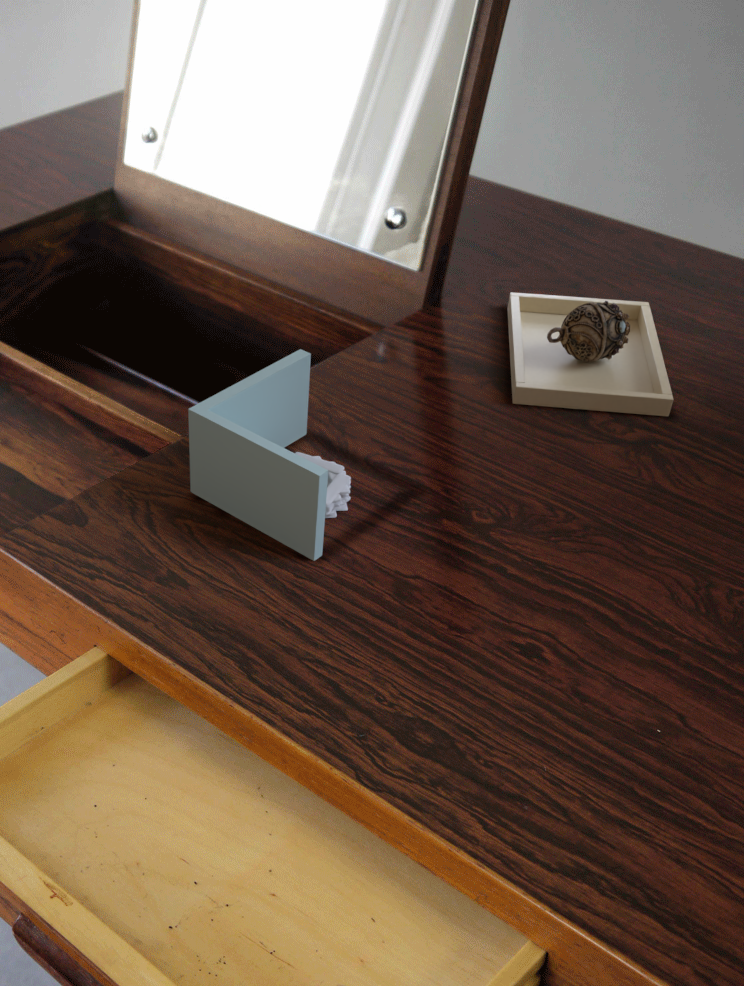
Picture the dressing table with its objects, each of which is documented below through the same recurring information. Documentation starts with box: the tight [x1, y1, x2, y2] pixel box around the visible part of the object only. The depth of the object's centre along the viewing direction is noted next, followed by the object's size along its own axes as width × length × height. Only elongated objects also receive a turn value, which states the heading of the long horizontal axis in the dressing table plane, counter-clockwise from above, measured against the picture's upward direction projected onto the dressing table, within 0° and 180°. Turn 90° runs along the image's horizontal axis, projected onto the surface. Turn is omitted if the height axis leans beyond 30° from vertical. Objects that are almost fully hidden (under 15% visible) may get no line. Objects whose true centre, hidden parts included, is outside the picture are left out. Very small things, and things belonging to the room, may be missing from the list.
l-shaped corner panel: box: [187, 348, 352, 562], centre depth 82 cm, size 12×12×8 cm
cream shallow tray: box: [507, 291, 674, 417], centre depth 99 cm, size 18×13×2 cm
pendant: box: [547, 301, 630, 362], centre depth 98 cm, size 5×8×5 cm, turn 104°
